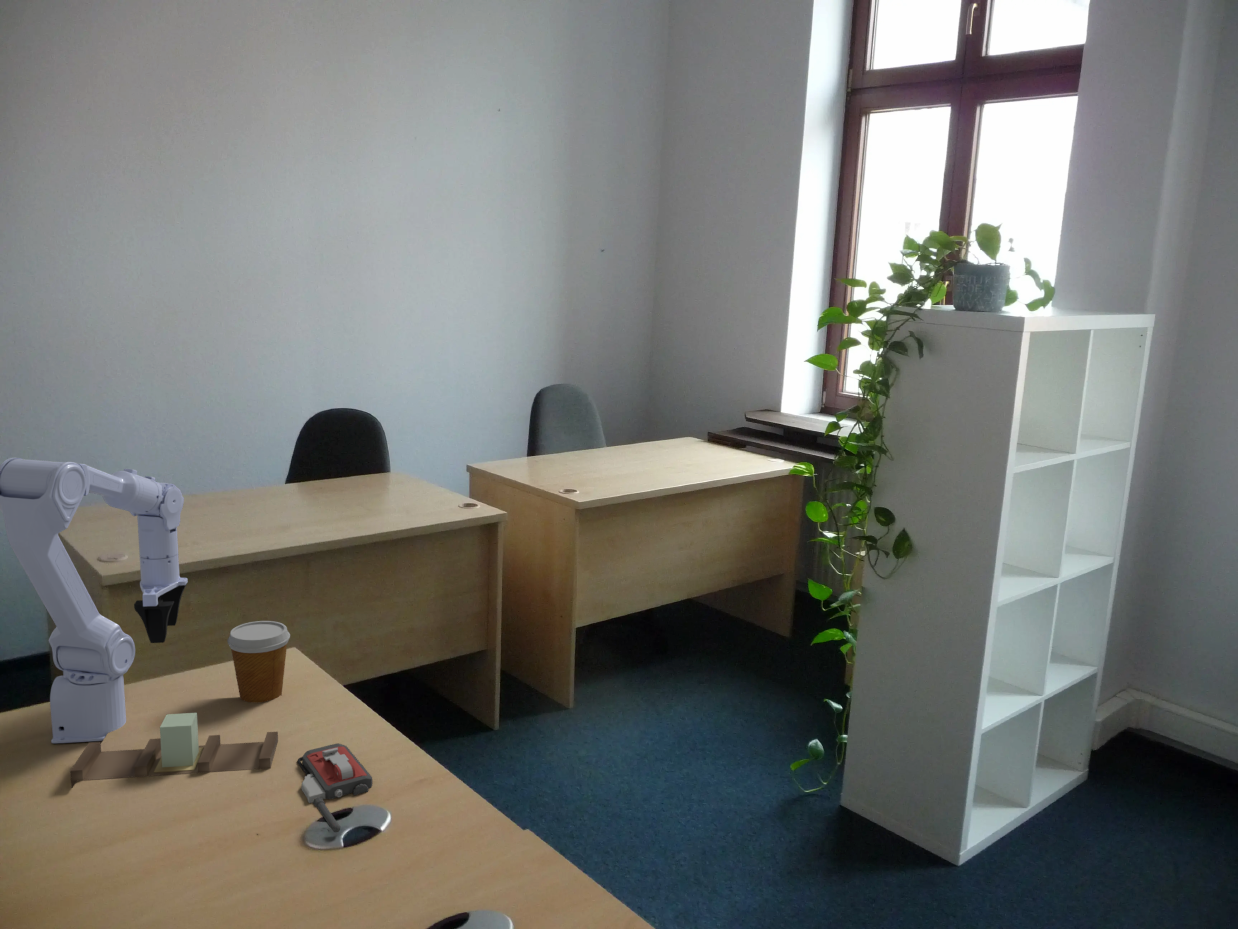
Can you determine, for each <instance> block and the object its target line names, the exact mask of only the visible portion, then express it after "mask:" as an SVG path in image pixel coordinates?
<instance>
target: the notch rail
mask: <svg viewBox="0 0 1238 929" xmlns="http://www.w3.org/2000/svg"><path fill="white" fill-rule="evenodd" d="M101 742H102V741H90V742H88V744H87V745H86V746H85V748H84V749H83V751H82V752H81V753H80V755H79V757H78V758H77V760H76V761H75V763H74V765H73V766H72V767H71V769H70V770H69V772H70V775H69V776H70V785H71V786H70V787H71V789H72V788H74V787H75V784H76V783H77V782H79V781H80V782H82V781H83V782H84V781H85V782H86V781H99V780H100V781H101V780H110V779H111V780H113V779H127V778H128V779H129V778H141V777H142V778H144V777H159V776H161V777H162V776H174V775H176V776H177V775H188V774H189V775H191V774H203V773H205V774H206V773H218V772H219V773H220V772H222V773H223V772H233V771H237V772H238V771H248V770H249V771H252V770H264V769H265V770H267V769H271V768H272V765H273V761H274V757H275V754H276V750H277V747H278V743H279V731H266V734H265V738H264V740H263V741H258V742H257V741H256V742H255V741H254V742H238V743H224V744H222V743H221V735H220V734H215V735H208V737H207V740H206V742H205V744H204V745H199V752H198V755H197V757H196V760H195V762H194V764H193V765H191V766H177V767H162V755H161V738H160V737H159V738H149V739H148V742H147V743H146V745H145V747H144V748H143V749H142V748H139V749H126V750H125V749H124V750H121V749H120V750H107V751H106V750H105V751H102V748H101V747H102V745H101Z"/></svg>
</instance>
